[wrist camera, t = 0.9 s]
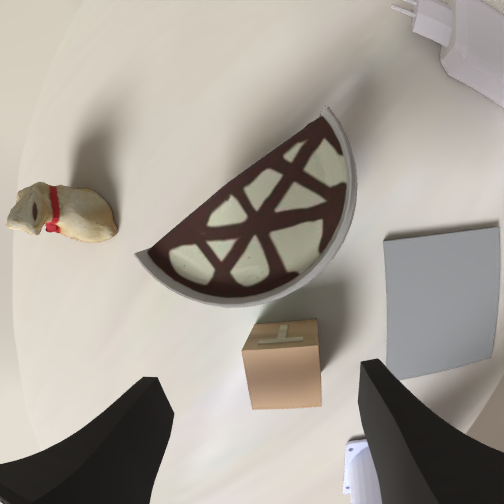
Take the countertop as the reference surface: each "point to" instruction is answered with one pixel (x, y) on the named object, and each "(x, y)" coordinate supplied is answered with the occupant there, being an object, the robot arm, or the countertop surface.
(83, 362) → the countertop surface
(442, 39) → the charger
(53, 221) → the chocolate bunny
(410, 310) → the slate board
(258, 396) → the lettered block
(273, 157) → the food container
